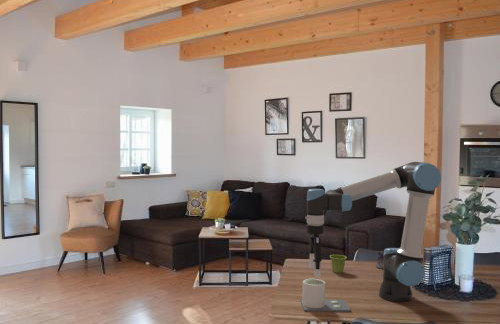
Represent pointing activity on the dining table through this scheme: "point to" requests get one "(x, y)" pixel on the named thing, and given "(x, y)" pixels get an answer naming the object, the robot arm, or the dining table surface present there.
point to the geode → (380, 261)
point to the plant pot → (338, 263)
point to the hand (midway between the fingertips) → (314, 272)
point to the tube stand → (320, 299)
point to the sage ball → (312, 281)
